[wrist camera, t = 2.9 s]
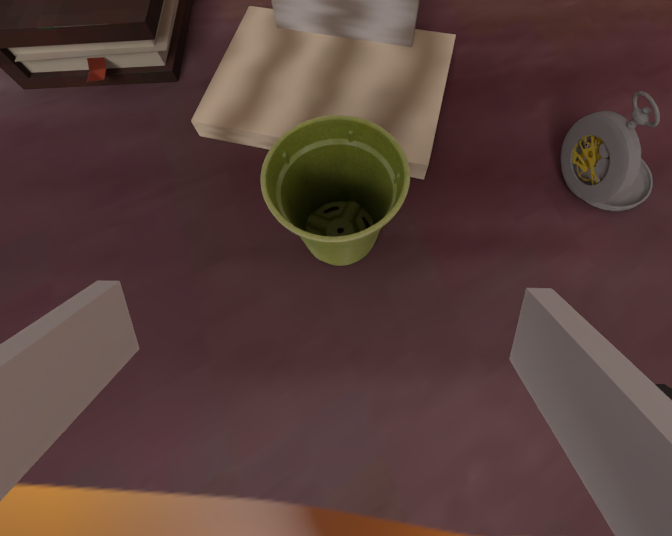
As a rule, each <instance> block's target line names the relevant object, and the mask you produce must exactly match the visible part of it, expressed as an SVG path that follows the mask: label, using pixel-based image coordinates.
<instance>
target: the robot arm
mask: <svg viewBox="0 0 672 536" xmlns="http://www.w3.org/2000/svg"><path fill="white" fill-rule="evenodd" d="M138 350H139V346H138V342H137V339H136V336H135V332H134V329H133V325H132V322H131V318H130V315H129V311H128V308H127V305H126V301H125V298H124V294H123V291H122V287H121V284H120V281H96V282H95V283H93V284H92V285H90V286H89V287H87V288H86V289H84V290H83V291H81V292H79V293H78V294H76V295H75V296H73V297H72V298H70V299H69V300H67V301H66V302H64V303H63V304H61V305H60V306H58V307H57V308H55V309H54V310H52V311H51V312H49V313H48V314H46V315H44V316H43V317H41V318H40V319H38V320H37V321H35V322H34V323H32V324H31V325H29V326H28V327H26V328H25V329H23V330H22V331H20V332H19V333H17V334H16V335H14V336H13V337H11V338H9V339H8V340H6V341H5V342H3V343H2V344H0V501H1V499H2V498H3V497H4V496H5V495H6V494H7V493H8V492H9V491H10V490H11V489H12V488H13V487H14V485H15V484H16V483H17V482H18V481H19V480H20V479H21V478H22V477H23V476H24V475H25V473H26V472H27V471H28V470H29V469H30V468H31V467H32V466H33V465H34V464H35V463H36V461H37V460H38V459H39V458H40V457H41V456H42V455H43V454H44V453H45V452H46V450H47V449H48V448H49V447H50V446H51V445H52V444H53V443H54V442H55V441H56V440H57V438H58V437H59V436H60V435H61V434H62V433H63V432H64V431H65V430H66V429H67V428H68V426H69V425H70V424H71V423H72V422H73V421H74V420H75V419H76V418H77V417H78V416H79V414H80V413H81V412H82V411H83V410H84V409H85V408H86V407H87V406H88V405H89V403H90V402H91V401H92V400H93V399H94V398H95V397H96V396H97V395H98V394H99V393H100V391H101V390H102V389H103V388H104V387H105V386H106V385H107V384H108V383H109V382H110V381H111V379H112V378H113V377H114V376H115V375H116V374H117V373H118V372H119V371H120V370H121V368H122V367H123V366H124V365H125V364H126V363H127V362H128V361H129V360H130V359H131V358H132V356H133V355H134V354H135V353H136V352H137V351H138ZM509 360H510V361H511V363H512V365H513V366H514V368H515V370H516V371H517V373H518V375H519V376H520V378H521V380H522V381H523V383H524V385H525V386H526V388H527V390H528V391H529V393H530V395H531V396H532V398H533V400H534V401H535V403H536V405H537V406H538V408H539V410H540V411H541V413H542V415H543V416H544V418H545V420H546V421H547V423H548V425H549V426H550V428H551V430H552V431H553V433H554V435H555V436H556V438H557V440H558V441H559V443H560V445H561V446H562V448H563V450H564V451H565V453H566V455H567V456H568V458H569V460H570V461H571V463H572V465H573V466H574V468H575V470H576V471H577V473H578V475H579V476H580V478H581V480H582V481H583V483H584V485H585V486H586V488H587V490H588V491H589V493H590V495H591V496H592V498H593V500H594V501H595V503H596V505H597V506H598V508H599V510H600V511H601V513H602V515H603V516H604V518H605V520H606V521H607V523H608V525H609V526H610V528H611V530H612V531H613V533H614V535H615V536H672V389H671V388H670V387H668V386H666V385H665V384H654V383H653V382H652V381H650V380H649V379H648V378H647V377H646V376H645V375H644V374H643V373H642V372H641V371H640V370H639V369H638V368H637V367H635V366H634V365H633V364H632V363H631V362H630V361H629V360H628V359H627V358H626V357H625V356H624V355H623V354H621V353H620V352H619V351H618V350H617V349H616V348H615V347H614V346H613V345H612V344H611V343H610V342H609V341H608V340H606V339H605V338H604V337H603V336H602V335H601V334H600V333H599V332H598V331H597V330H596V329H595V328H594V327H593V326H591V325H590V324H589V323H588V322H587V321H586V320H585V319H584V318H583V317H582V316H581V315H580V314H579V313H578V312H576V311H575V310H574V309H573V308H572V307H571V306H570V305H569V304H568V303H567V302H566V301H565V300H564V299H562V298H561V297H560V296H559V295H558V294H557V293H556V292H555V291H554V290H553V289H552V288H526V291H525V295H524V299H523V304H522V308H521V312H520V316H519V321H518V325H517V329H516V333H515V338H514V342H513V346H512V350H511V355H510V359H509Z"/></svg>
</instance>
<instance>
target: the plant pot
mask: <svg viewBox="0 0 672 536" xmlns="http://www.w3.org/2000/svg"><path fill="white" fill-rule="evenodd" d="M409 185H410V168H409V164H408V160H407V157H406V154H405V152H404V150H403V149H402V147H401V146H400V144H399V143H398V142H397V140H396V139H395V138H394V137H393V136H392V135H391V134H390V133H388V132H387V131H386V130H384V129H383V128H382V127H380V126H379V125H377V124H375V123H373V122H371V121H368V120H366V119H362V118H359V117H354V116H347V115H346V116H343V115H327V116H321V117H317V118H313V119H311V120H307V121H304V122H302V123H300V124H298V125H296V126H295V127H293V128H291V129H290V130H288V131H287V132H285V133H284V134H283V135H282V136H281V137H280V138H279V139H278V140H277V141H276V142H275V143H274V145H273V146H272V147H271V148H270V150H269V152H268V153H267V156H266V158H265V160H264V162H263V166H262V170H261V190H262V194H263V197H264V200H265V202H266V204H267V206H268V208H269V210H270V211H271V213H272V214H273V215H274V217H275V218H276V219H277V220H278V221H279V222H280V223H281V224H282V225H283V226H284V227H285V228H287V229H288V230H290V231H291V232H293V233H294V234H296V235H298V236H300V237H301V239H302V240H303V242H304V243H305V245H306V246H307V248H308V249H309V250H310V252H311V253H312V254H313V255H314V256H315V257H316V258H318V259H319V260H321V261H323V262H326V263H329V264H332V265H336V266H343V265H349V264H352V263H355V262H357V261H359V260H361V259H362V258H364V257H365V256H366V255H367V254H368V253H369V252H370V250H371V249H372V247H373V245H374V243H375V241H376V239H377V237H378V234H379V232H380V230H381V228H382V227H383V226H385V225H386V224H387V223H388V222H389V221H390V220H391V219H392V218H393V217H394V216H395V215H396V214H397V212H398V211H399V209H400V208H401V206H402V204H403V202H404V200H405V198H406V195H407V193H408V189H409ZM332 207H339V209H338V210H335V211H331V212H328V213H326V214H325V213H324V211H325V210H327V209H330V208H332ZM362 217H363V218H365V219H366V220H367V221H368V223H369V226H370V227H369V228H367V229H366V227H365V224H364V221H363V219H362ZM340 228H342V229H343V230H344V231H343V232H342V233H338V232H337V230H338V229H340Z"/></svg>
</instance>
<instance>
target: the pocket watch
mask: <svg viewBox="0 0 672 536" xmlns="http://www.w3.org/2000/svg"><path fill="white" fill-rule="evenodd" d="M639 95H641V96H644V97H645V98H646V99H647V100H648V101H649V102H650V103H651V105H652V107H653V109H654V114H655V122H653V123H650V122H648V120H649V116H648V114H649V113H650V112H651V110H650V108H649V107H644V108H643V109H640V108H638V106H637V97H638V96H639ZM632 103H633V107H634V110H633V112H632V120H631V121H630V122H628V121H627V119H626V118H625V117H623V116H621V115H619V114H617V113H615V112H610V111H600V112H596V113H592V114H590V115H587V116H585V117H584V118H582V119H580V120H579V121H577V122H576V123H575V124H574V125H573V126H572V127H571V129H570V130H569V131H568V133H567V135H566V136H565V139H564V142H563V145H562V149H561V168H562V174H563V177H564V180H565V182H566V184H567V186H568V187H569V188H570V190H571V191H572V192H573V193H574V194H575V195H576V196H577V197H579V198H581V199H583V200H584V201H586V202H587V203H588V204H590V205H592V206H595V207H597V208H600V209H603V210H610V211H623V210H628V209H631V208H633V207H636V206H637V205H639V204H640V203H642V202H644V201H645V200H646V199H647V198H648V196H649V195H650V193H651V190H652V187H653V181H652V174H651V172H650V169H649V168H648V166H647V164H646V163H645V162H644V161H643V160H642V159H641V147H640V142H639V138H638V135H637V133H636V131H635V129H634V128H635V127H636V126H637V125H642V126H643V125H646V126H648V127H655V126H657V125H658V123H659V120H660V114H659V109H658V107H657V104H656V103H655V102H654V100H653V99H652V97H651V96H650V95H649V94H648V93H645V92H643V91H638V92H636V93H635V94H634V96H633V101H632ZM595 136H597V139H598V140H596V139H595ZM590 138H591V141H592V142H591V144H590V143H588V142H587V141H588V140H589V139H590ZM594 141H595V143H594ZM597 141H598V142H599V143H597ZM586 143H587V146H585V145H586ZM588 144H589V145H588Z"/></svg>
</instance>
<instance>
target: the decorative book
mask: <svg viewBox="0 0 672 536" xmlns="http://www.w3.org/2000/svg"><path fill="white" fill-rule="evenodd" d="M192 4H193V0H0V67H1V68H2V69H3V70H4V71H5V72H6V73H7V74H8V75H9V76H10V77H11V78H12V79H13V80H14V81H16V82H17V83H18V84H19V85H20V86H21V87H22V88H23V89H40V88H60V87H80V86H100V85H120V84H140V83H160V82H178V78H179V73H180V68H181V62H182V57H183V52H184V46H185V41H186V36H187V30H188V25H189V20H190V14H191V9H192Z"/></svg>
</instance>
